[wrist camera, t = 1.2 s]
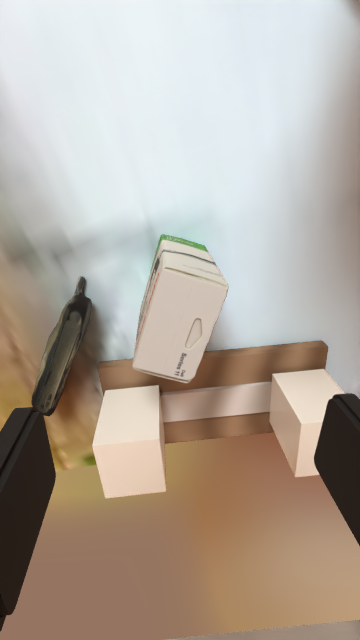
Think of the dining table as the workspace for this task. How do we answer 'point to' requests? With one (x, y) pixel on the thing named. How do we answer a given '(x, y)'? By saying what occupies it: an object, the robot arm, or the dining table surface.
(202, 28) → the dining table surface
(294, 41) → the dining table surface
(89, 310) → the mobile phone
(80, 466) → the dining table surface
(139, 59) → the dining table surface
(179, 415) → the rail board
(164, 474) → the mounted modules
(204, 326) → the ink box
